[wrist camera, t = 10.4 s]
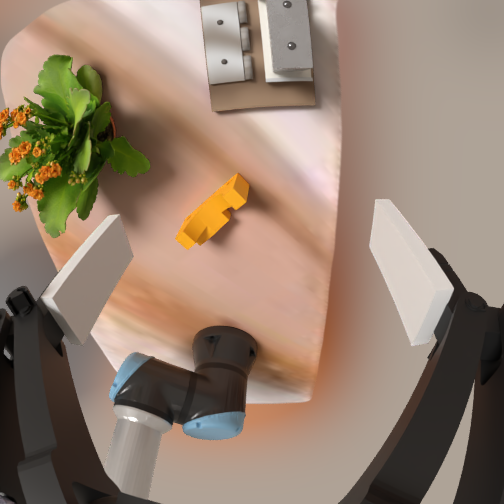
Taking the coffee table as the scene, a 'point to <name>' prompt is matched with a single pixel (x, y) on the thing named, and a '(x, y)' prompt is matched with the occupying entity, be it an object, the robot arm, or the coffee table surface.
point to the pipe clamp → (213, 212)
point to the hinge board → (243, 60)
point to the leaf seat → (269, 74)
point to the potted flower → (64, 145)
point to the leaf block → (289, 35)
